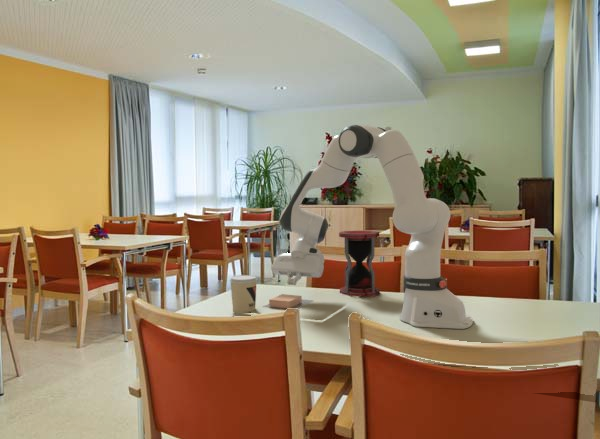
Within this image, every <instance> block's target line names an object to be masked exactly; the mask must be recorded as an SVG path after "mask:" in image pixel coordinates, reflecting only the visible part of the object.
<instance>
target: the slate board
mask: <svg viewBox="0 0 600 439" xmlns="http://www.w3.org/2000/svg"><path fill="white" fill-rule="evenodd" d="M312 302H314V299H313V300H312V299H302V303H300V304H298V305H296V306H294V307H292V308H298V309H300V308H302V307H305V306H306V305H309V304H310V303H312ZM262 308H268V309H270V308H271V309H279V310H280V309H281V310H288V309H287V308H279V307H269V303H268V304H265V305H263V306H262Z"/></svg>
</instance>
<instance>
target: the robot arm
mask: <svg viewBox="0 0 600 439" xmlns="http://www.w3.org/2000/svg"><path fill="white" fill-rule="evenodd" d="M357 158H362V159H376V158H377V159H378V160H379V163H380V165H381V167H382V169H383V172H384V175H385V177H386V179H387V182H388V185H389V187H390V190H391V193H392V198H393V205H394V209H393V212H392V222H393V225H394V227H395V228H396V229H397V230H398V231H399V232H400V233H401V232H402V233H403V234H404V233H405V234H407V235H410V240H409V244H408V245H407V247H406V249H405V252H404V275H403V280H402V281H403V282H402V283H403V284H402V289H403V302H402V303H403V305H402V309H401V314H400V316H399V319H400V321H402V322H405V323H407V324H410V325H411V326H413V327H417V328H418V327H419V328H436V329H437V328H440V329H453V330H454V329H455V330H456V329H457V330H464V329H467V328H470V327H472V325H473V324H474V320H473V317H472V316H470V315H467V312H466V307H465V304H464V302H463V301H462V299H461V298H459V297H458V296H456V295H455V294H454V293H452V292H451V291H450V289H448V288H447V287H448V279H447V278H445V277H443V276H442V275H441V252H442V245H443V241H444V237H445V232H446V228H447V225H448V224H449V222H450V219H451V210H450V208H449V206H448V205H447V204H446V203H445V202H444V201H442V200H440V199H437V198H435V197H434V198H431V197H430V198H429V197H428V198H427V196H426V194H425V187H424V179H425V177H424V176H425V175H424V173H423V171H422V168H421V166H420V164H419V162H418V160H417V157H416V155H415V153H414V151H413V149H412V147H411V145H410V143H409V142H408V140H407V139H406V137H405V136H404V135H403V133H402V132H401V131H399V130H397V129H390V130H389V129H388V130H387V129H384V128H382V127H376V126H372V125H369V124H367V125H364V124H363V125H361V124H351V125H348V126H346V127H344V128H343V129H342V130H341V132H340V133H339V134H337V135H334V136H333V137H332V139H331V141H330V143H329V144H328V146H327V147H326V150H325V152H324V154H323V156H322V158H321V161H320V163H319V164H318V165H317V167H316V168H311V169H309V170H308V172H306V174H304V178H303V179H302V180H301V182H300V183H299V185H298V186H297V189H296V190H295V191H294V193H293V195H292V197H291V199H290V201H289V203H288V204H287V205H286V206H284V208H283V210H282V212H281V214H280V216H279V221H278V222H279V224H280V226H281V228H282V229H283V230H284V231H287V232H291V233H294V234H296V235H297V236H296V240H295V242H294V243H293V245H292V248H291V251H290V253H288V252H287V253H284V252H282V253H280V254H278V255H276V257H275V259H274V261H273V263H272V265H271V267H270V269H271V271H272V273H273V275H277V276H287V280H286V281H287V285H290V286H291V285H292V286H296V285H297V282H299V280H301V279H302V277H304V278H305V277H307V278H316V279H317V278H321V277H322V275H323V273H324V268H325V265H324V263H325V258H324V255H323V253H322V251H321V250H320V249H318V248H316V247H317V246H318V244H320V243H321V242H323V241H325V238H326V233H327V231H328V229H329V222H328V220H327V218H326V217H324V216H323V215H320V214H318V213H316V212H312V211H310V210H306V209H304V208H301V204H302V202H303V200H304V198H305V197H306V195H307V193H308V192H309V191H311V190H314V189H332V188H333V189H334V188H337V187H340V186H342V185H343V184H344V183H345V182H346V181H347V179H348V177H349V175H350V172H351V171H352V169H353V165H354V163H355V161H356V160H357Z"/></svg>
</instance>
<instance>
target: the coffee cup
mask: <svg viewBox="0 0 600 439" xmlns="http://www.w3.org/2000/svg"><path fill="white" fill-rule="evenodd" d="M229 281H230V292H231V301H232V303H231V304H232V310H233V313H234V314H239V315H245V314H252V313H253V312H252V311H254V310H256V302H257V300H256V299H257V281H258V279H257V276H255V275H250V274H249V275H246V274H244V275H234V276H230V279H229Z"/></svg>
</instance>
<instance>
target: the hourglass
mask: <svg viewBox="0 0 600 439" xmlns="http://www.w3.org/2000/svg"><path fill="white" fill-rule="evenodd" d="M338 237H339V238H344V254H345V255H344V256H345V258H346V260H347V264H346V265H345V267H344V268H345V269H344V286H343V287H341V288H339V294H342V295H345V296H354V297H359V298H372V297H376V296H378V295H380V294H381V293H380V288H378V287H376V286H375V285H376V284H375V283H376V282H375V271H374V269H373V265H372V263H373V262H372V261H373V260H374V257H375V238H379V237H380V232H379V231H376V230H344V231H339V232H338ZM351 258H352V259H351ZM352 260H353V261H354V262H355V265H353V263H352ZM365 260H366V266H367V267H368V268H367V267H366V266H365V265H364V264H363V262H364V261H365ZM352 265H353V266H352Z"/></svg>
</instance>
